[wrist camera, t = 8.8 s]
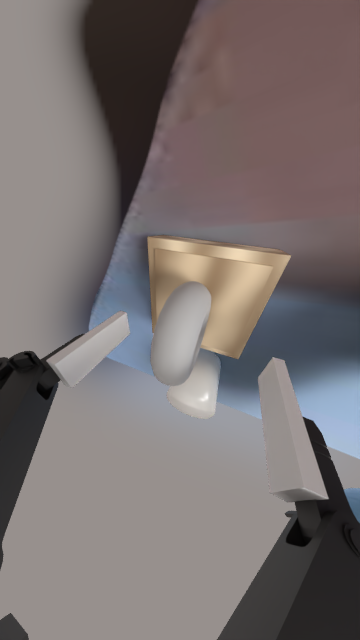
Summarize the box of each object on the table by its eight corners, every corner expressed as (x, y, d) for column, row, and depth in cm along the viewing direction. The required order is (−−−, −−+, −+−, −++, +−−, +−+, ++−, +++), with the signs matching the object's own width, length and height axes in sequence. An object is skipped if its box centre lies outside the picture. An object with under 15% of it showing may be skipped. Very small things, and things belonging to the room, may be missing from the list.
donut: (188, 266, 15) (133, 309, 7) (220, 271, 14) (197, 327, 6) (181, 334, 21) (146, 399, 13) (203, 341, 20) (180, 414, 12)
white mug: (225, 354, 26) (220, 403, 19) (213, 385, 32) (206, 429, 25) (185, 342, 28) (167, 382, 21) (181, 373, 34) (166, 411, 27)
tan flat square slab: (280, 249, 15) (292, 256, 12) (238, 341, 23) (238, 361, 20) (163, 235, 18) (145, 237, 15) (162, 320, 26) (151, 334, 23)
